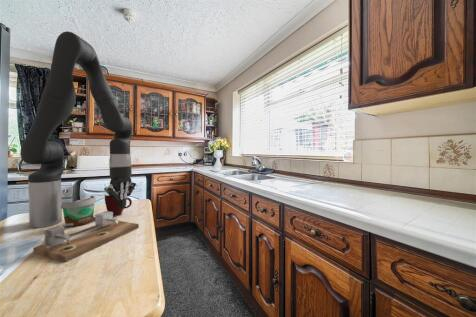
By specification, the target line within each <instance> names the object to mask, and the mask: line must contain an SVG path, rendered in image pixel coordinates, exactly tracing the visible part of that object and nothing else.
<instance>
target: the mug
mask: <svg viewBox="0 0 476 317" xmlns="http://www.w3.org/2000/svg"><path fill="white" fill-rule="evenodd" d="M123 194H124V193H123ZM126 201H128V202H129V204H128V205H126V207H125V208H122V209H120V208H118V206H117V199H113V198H111V196H110V195H109V194H108V193H107V192H106V193H105V194H104V203H105V207H106V211H110V212H113V217H119V216H121V215H122V213H123V211H124V209H128V208H129V207H131V206H132V204H133V200H132V199H131V198H130V197H129V196H128V197H127V198H126ZM120 214H121V215H120ZM118 215H119V216H118Z"/></svg>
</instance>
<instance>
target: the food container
mask: <svg viewBox="0 0 476 317" xmlns="http://www.w3.org/2000/svg"><path fill="white" fill-rule="evenodd" d="M96 203H97V198H96V197H95V196H94V195H90V197H87V198H84V199H82V198H81V199H77V200H74V201H70V202H65V201H64V202H63V201H62V204H61V208H62V214H63V218H64V225H65V226H64V228H78V227H82V226H86V225H89V224H91V223H92V222H94V212H95V210H94V209H95V204H96Z"/></svg>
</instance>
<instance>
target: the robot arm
mask: <svg viewBox="0 0 476 317" xmlns="http://www.w3.org/2000/svg"><path fill="white" fill-rule="evenodd" d="M76 64H77V65H79V66H80V67H81V69H82V70H83V72H85V75H86V76H87V79H88V84H89V91H90V94H91V96H92V98H93V100H94V102H95V103H96V106H97V107H98V109H99V112H100V116H101V119H102V121H103V124H104V126H105V127H106V129H108V130H109V131H111V132H112V133H114V136H113V137H114V138H113V139H111V140H110V142H109V157H108V158H109V161H108V162H109V163H108V164H109V168H108V169H109V178H110V181H109V185H108V186H107V187H104V189H103V190H104V191H105V193H106V194H107V193H108V194H109V195H110V196H111V198H113V199H117V206H118V208H120V209H122V208H125V207H127V200H126V198H127V197H128V198H129V197H130V196H131V194H132V193H133V192H134V190H135V188H136V186H137V183H136V182H133V181H132V178H131V177H132V175H133V174H132V157H131V140H132V136H133V129H134V128H133V123H132V121H131V119H130V118H129V117H126V116H123V115H122V113H121V112H120V110H119V109H120V103H119V101H118V99H117V97H116V96H115V94H114V92H113V90H112V88H111V86H110V85H109V82H108V80H107V78H106V77H105V74H104V71H103V69H102V65H101V63H100V60H99V57H98V55H97V52H96V50H95V48H94V47H93V45H91V44H90V43H88V42H87V41H86V40H85V39H83V38H82V37H80V36H79V35H78V34H76V33H75V32H72V31H63V32H61V33H60V34H59V35H58V36H57V38H56V40H55V44H54V49H53V54H52V58H51V65H50V69H49V73H48V77H47V79H46V83H45V86H44V89H43V91H42V94H41V98H40V101H39V104H38V107H37V110H36V113H35V116H34V118H33V121H32V124H31V126H30V128H29V130H28V131H27V134H26V136H25V138H24V140H23V143H22V144H21V148H20V159H21V160H22V161H23V163H25V164H28V165H40V167H39V169H37V170H36V171H34V172H32V173H30V174H29V175H28V177H27V180H28V181H27V184H28V187H27V188H28V189H27V190H28V214H29V215H28V220H29V224H28V225H29V228H44V227H49V226H53V225H57V224H59V223H62V221H63V208H61V204H62V202H63V201H62V199H63V198H62V175H63V174H64V167H65V166H64V162H65V152H64V147H63V146H62V144H61V143H60V142H57V141H53V140H50V137H51V135H52V133H53V132H54V131H55V129H57V127H59V126H60V125H61V124H63V123H64V122H65V121H66V120H67V119H68V118H69V117H70V116H71V114H72V112H73V109H74V106H75V104H76V100H77V99H76V98H77V93H76V89H75V84H74V78H73V77H74V76H73V73H74V69H75V67H76ZM123 193H124V194H123ZM125 209H126V208H125Z"/></svg>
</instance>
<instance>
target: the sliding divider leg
mask: <svg viewBox="0 0 476 317" xmlns="http://www.w3.org/2000/svg"><path fill="white" fill-rule="evenodd" d="M94 220H95V221H94V223H95V225H94V226H100V227H104V226H106V225H109V224H112V223H113V222H115V226H117V225H118V221H119V219H118V218H115V217H114V216H113V212H110V211H107V210H105V211H104V210H103V211H102V212H97V213H95V218H94Z"/></svg>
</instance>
